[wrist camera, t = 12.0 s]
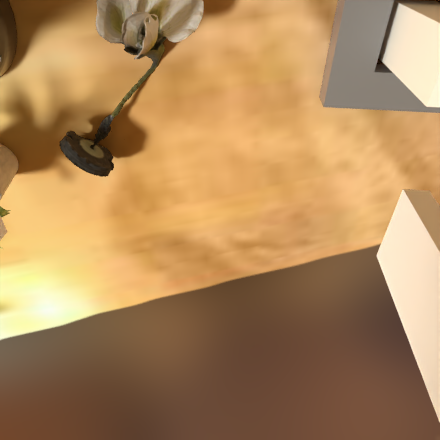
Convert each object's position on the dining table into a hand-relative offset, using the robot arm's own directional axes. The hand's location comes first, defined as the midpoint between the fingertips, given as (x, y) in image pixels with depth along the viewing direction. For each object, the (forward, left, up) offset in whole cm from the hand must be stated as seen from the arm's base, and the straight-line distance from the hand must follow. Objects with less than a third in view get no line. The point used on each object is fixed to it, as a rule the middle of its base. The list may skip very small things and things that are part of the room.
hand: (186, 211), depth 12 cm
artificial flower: (-11, -5, -32) cm, 35 cm away
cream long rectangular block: (+17, 0, -32) cm, 36 cm away
